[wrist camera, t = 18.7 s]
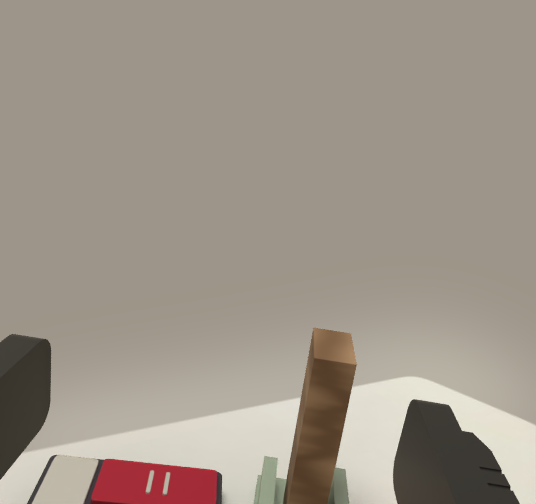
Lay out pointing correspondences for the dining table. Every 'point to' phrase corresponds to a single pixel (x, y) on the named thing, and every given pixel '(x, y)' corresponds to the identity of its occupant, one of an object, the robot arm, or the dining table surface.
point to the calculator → (124, 483)
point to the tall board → (320, 417)
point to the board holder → (273, 488)
